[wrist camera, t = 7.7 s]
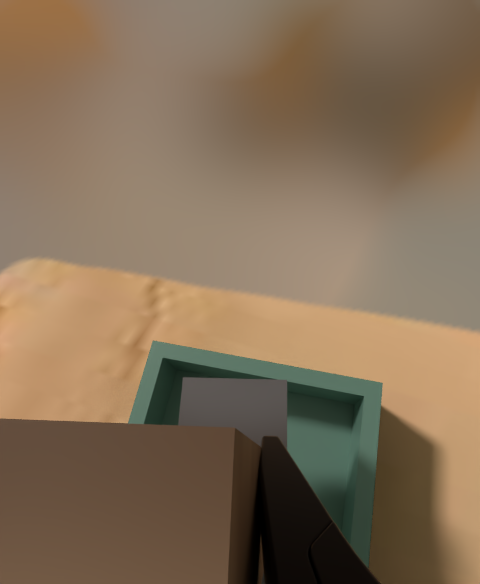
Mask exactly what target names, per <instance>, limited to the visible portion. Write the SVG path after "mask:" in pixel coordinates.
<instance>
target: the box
mask: <svg viewBox="0 0 480 584" xmlns="http://www.w3.org/2000/svg"><path fill="white" fill-rule="evenodd" d="M183 377H191V378H233V379H275V380H287V451H288V452H289V454H290V455H291V457H292V458H293V460H294V461H295V463H296V464H297V466H298V467H299V469H300V470H301V472H302V474H303V475H304V477H305V478H306V480H307V481H308V483H309V484H310V486H311V487H312V489H313V490H314V492H315V493H316V495H317V496H318V498H319V500H320V501H321V503H322V504H323V506H324V507H325V509H326V510H327V512H328V513H329V515H330V516H331V518H332V519H333V521H334V523H336V525H337V526H338V528H339V529H340V531H341V532H342V534H343V535H344V537H345V538H346V540H347V541H348V543H349V544H350V545H351V547H352V548H353V550H354V551H355V552H356V554H357V555H358V556H359V558H360V559H361V560H362V561H363V563H364V564H365V565H366V566H367V568H368V567H369V554H370V541H371V528H372V515H373V502H374V489H375V476H376V463H377V449H378V436H379V423H380V410H381V397H382V384H383V383H380V382H375V381H369V380H364V379H359V378H353V377H348V376H342V375H337V374H331V373H326V372H321V371H315V370H310V369H304V368H299V367H294V366H288V365H283V364H277V363H272V362H267V361H261V360H256V359H250V358H245V357H239V356H234V355H229V354H223V353H218V352H212V351H207V350H202V349H196V348H191V347H185V346H180V345H175V344H169V343H164V342H158V341H153V342H152V346H151V349H150V352H149V355H148V359H147V362H146V365H145V369H144V372H143V375H142V379H141V382H140V385H139V389H138V392H137V395H136V398H135V402H134V405H133V408H132V412H131V415H130V418H129V422H128V424H153V425H178V422H179V412H180V402H181V392H182V382H183Z"/></svg>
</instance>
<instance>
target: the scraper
mask: <svg viewBox="0 0 480 584" xmlns="http://www.w3.org/2000/svg"><path fill="white" fill-rule="evenodd" d="M263 436H278V437H279V438H280V440H281V441H282V443H283V444H284V446H285V448H286V449H287V380H275V379H233V378H191V377H183V382H182V392H181V402H180V412H179V422H178V425H153V424H127V423H101V422H74V421H48V420H22V419H0V584H265V581H264V569H263V556H262V543H261V526H260V497H259V461H260V454H261V442H262V437H263Z"/></svg>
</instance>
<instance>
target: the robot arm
mask: <svg viewBox="0 0 480 584" xmlns="http://www.w3.org/2000/svg"><path fill="white" fill-rule="evenodd" d="M259 497H260V526H261V543H262V556H263V569H264V581H265V584H381V583H380V582H379V581H378V580H377V579H376V577H375V576H374V575H373V574H372V572H371V571H370V570H369V569H368V568H367V566H366V565H365V564H364V563H363V561H362V560H361V559H360V558H359V556H358V555H357V554H356V552H355V551H354V550H353V548H352V547H351V545H350V544H349V543H348V541H347V540H346V538H345V537H344V535H343V534H342V532H341V531H340V529H339V528H338V526H337V525H336V523H334V521H333V519H332V518H331V516H330V515H329V513H328V512H327V510H326V509H325V507H324V506H323V504H322V503H321V501H320V500H319V498H318V496H317V495H316V493H315V492H314V490H313V489H312V487H311V486H310V484H309V483H308V481H307V480H306V478H305V477H304V475H303V474H302V472H301V470H300V469H299V467H298V466H297V464H296V463H295V461H294V460H293V458H292V457H291V455H290V454H289V452H288V451H287V449H286V448H285V446H284V444H283V443H282V441H281V440H280V438H279V437H278V436H263V437H262V442H261V454H260V461H259Z"/></svg>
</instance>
